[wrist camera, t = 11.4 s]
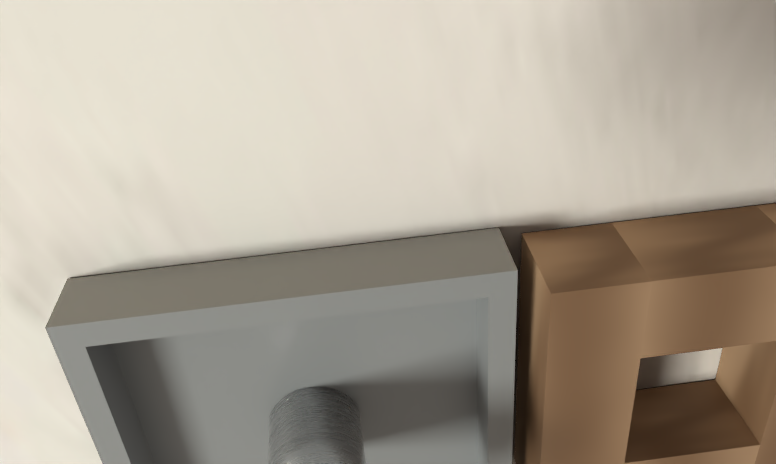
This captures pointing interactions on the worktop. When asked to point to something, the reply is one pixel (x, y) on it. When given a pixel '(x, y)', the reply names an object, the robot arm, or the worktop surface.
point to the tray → (299, 350)
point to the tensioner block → (648, 340)
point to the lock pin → (315, 429)
